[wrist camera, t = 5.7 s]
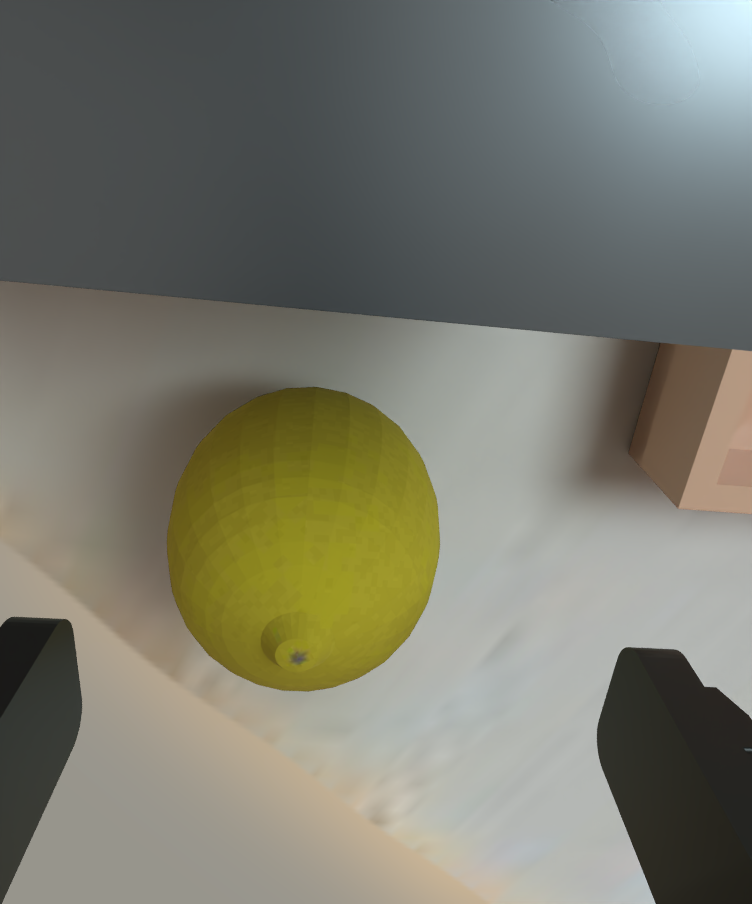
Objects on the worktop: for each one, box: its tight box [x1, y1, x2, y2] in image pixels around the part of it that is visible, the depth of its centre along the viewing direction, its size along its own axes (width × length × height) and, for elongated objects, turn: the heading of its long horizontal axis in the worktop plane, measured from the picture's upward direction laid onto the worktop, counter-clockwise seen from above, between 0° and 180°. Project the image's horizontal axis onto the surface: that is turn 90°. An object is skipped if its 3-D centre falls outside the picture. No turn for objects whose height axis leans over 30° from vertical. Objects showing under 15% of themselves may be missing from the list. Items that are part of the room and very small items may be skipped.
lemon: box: [167, 387, 440, 691], centre depth 14 cm, size 6×6×8 cm
